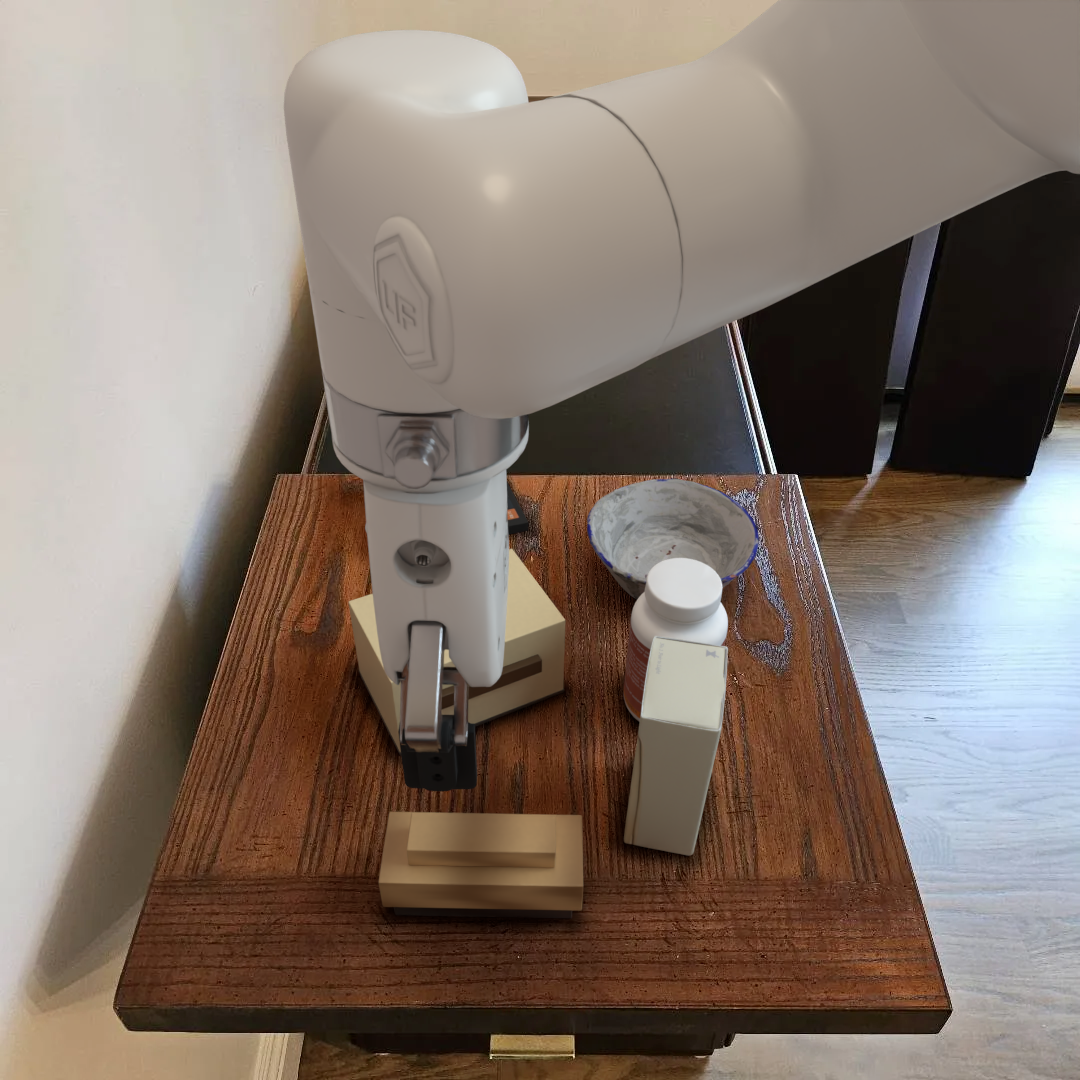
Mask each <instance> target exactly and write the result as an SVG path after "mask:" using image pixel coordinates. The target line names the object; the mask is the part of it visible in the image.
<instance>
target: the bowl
mask: <svg viewBox="0 0 1080 1080" xmlns="http://www.w3.org/2000/svg"><path fill="white" fill-rule="evenodd" d="M586 524H587V525H586V529H587V530H586V532H587V536H588V540H589V544H590V545H591V547H592V549H593V550H594V552H595V554H596V555H597V557H598V558H599V559H600V561H601V562H602V563H603V565H604V566H605V568H606V569H607V571H608V572H609V573H610V574H611V575H612V577H613V578H614V579H615V581H616V582H617V583H618V585H619V586H620V587H621V588H622V589H623V591H624V592H626V593H627V594H628V595H629V596H631V597H632V598H633V599H635V600H636V601H637V599H638V598H639V597H640V596H641V594H643V593H644V592H645V586H646V580H647V576H648V573H649V571H650V570H651V569H652V568H653V567H654V566H655V565H656V564H658V563H659V562H661V561H664V560H667V559H672V558H688V559H693V560H697V561H699V562H702V563H704V564H706V565H708V566H709V567H711V568H712V569H713V570H714V571H715V572H716V573H717V574H718V575H719V577H720V579H721V582H722V589H724V588H725V587H726V586H729V584H730V583H731V582H732V581H733V580H735V579H736V578H738V577H739V576H741V575H742V574H743V573H744V572H746V571H747V570H748V569H749V567H750V566H751V565H752V563H753V562H754V560H755V559H756V556H757V553H758V551H759V543H760V542H759V541H760V539H759V538H760V536H759V530H758V529H759V526H758V525H757V524H756V522H755V520H754V518H753V517H752V516H751V515H750V513H749V512H748V511H747V509H746V508H745V507H743V506H742V505H741V504H740V503H739V502H738V501H736V500H734V499H733V498H732V497H731V496H729V494H727V493H724V492H723V491H721V489H716V488H714V487H711V486H708V485H706V484H705V485H704V484H702V483H699V482H695V481H689V480H684V479H680V478H676V477H670V478H657V479H656V478H655V479H648V480H644V481H640V482H634V483H630V484H627V485H624V486H621V487H619V488H615V489H614V490H613V491H611V492H609V493H607V494H606V495H604V496H602V497H600V499H598V500H597V501H596V502H595V503H594V504H593V506H592V508H591V509H589V512H588V514H587V518H586Z"/></svg>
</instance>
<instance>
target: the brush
mask: <svg viewBox="0 0 1080 1080" xmlns="http://www.w3.org/2000/svg"><path fill="white" fill-rule="evenodd" d="M387 817H388V818H387V823H386V831H385V837H384V843H383V848H382V856H381V863H380V869H379V875H378V876H379V877H378V888H379V894H380V899H381V904H382V905H381V906H382V907H383V908H393V912H394V915H395V916H417V917H418V916H421V917H423V916H425V917H469V918H470V917H473V918H474V917H475V918H476V917H477V918H523V919H524V918H526V919H528V918H529V919H573V911H579V912H580V911H582V910H583V899H584V897H583V896H584V847H583V846H584V843H583V841H584V840H583V839H584V838H583V816H582V814H546V813H545V814H544V813H543V814H539V813H537V814H536V813H490V812H489V813H486V812H485V813H483V812H435V811H434V812H433V811H432V812H429V811H388V816H387Z"/></svg>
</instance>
